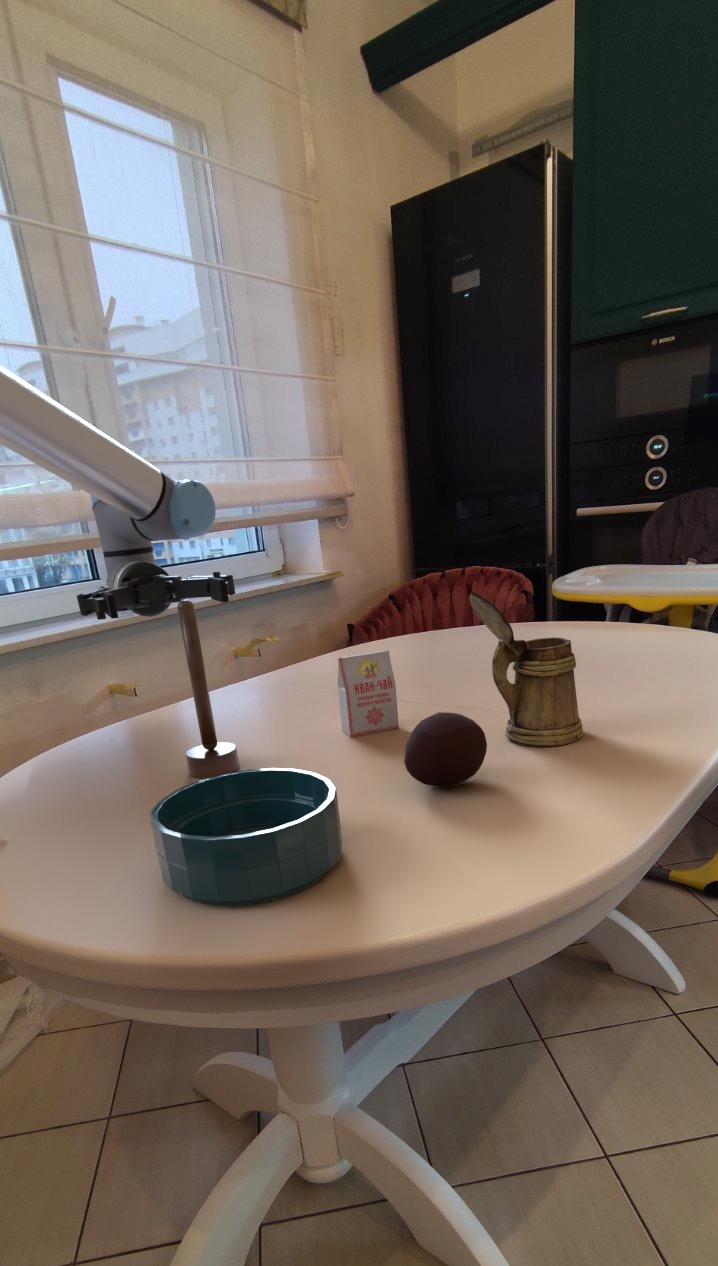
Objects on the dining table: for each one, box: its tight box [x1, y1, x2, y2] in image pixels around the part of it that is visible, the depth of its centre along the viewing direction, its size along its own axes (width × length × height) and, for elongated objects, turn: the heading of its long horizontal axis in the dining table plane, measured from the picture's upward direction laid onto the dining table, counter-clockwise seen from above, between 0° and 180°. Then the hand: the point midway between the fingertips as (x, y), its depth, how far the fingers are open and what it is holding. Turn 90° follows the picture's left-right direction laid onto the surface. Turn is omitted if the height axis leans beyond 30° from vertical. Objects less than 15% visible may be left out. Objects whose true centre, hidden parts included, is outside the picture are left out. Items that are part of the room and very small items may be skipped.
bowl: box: [149, 767, 343, 906], centre depth 61 cm, size 15×15×6 cm
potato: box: [403, 711, 488, 789], centre depth 74 cm, size 8×9×8 cm
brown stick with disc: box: [176, 598, 240, 779], centre depth 83 cm, size 6×6×20 cm
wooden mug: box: [469, 590, 584, 748], centre depth 83 cm, size 9×14×18 cm, turn 106°
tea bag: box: [337, 650, 400, 738], centre depth 95 cm, size 4×7×10 cm, turn 108°
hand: (170, 598), depth 88 cm, fingers open, 13 cm apart
